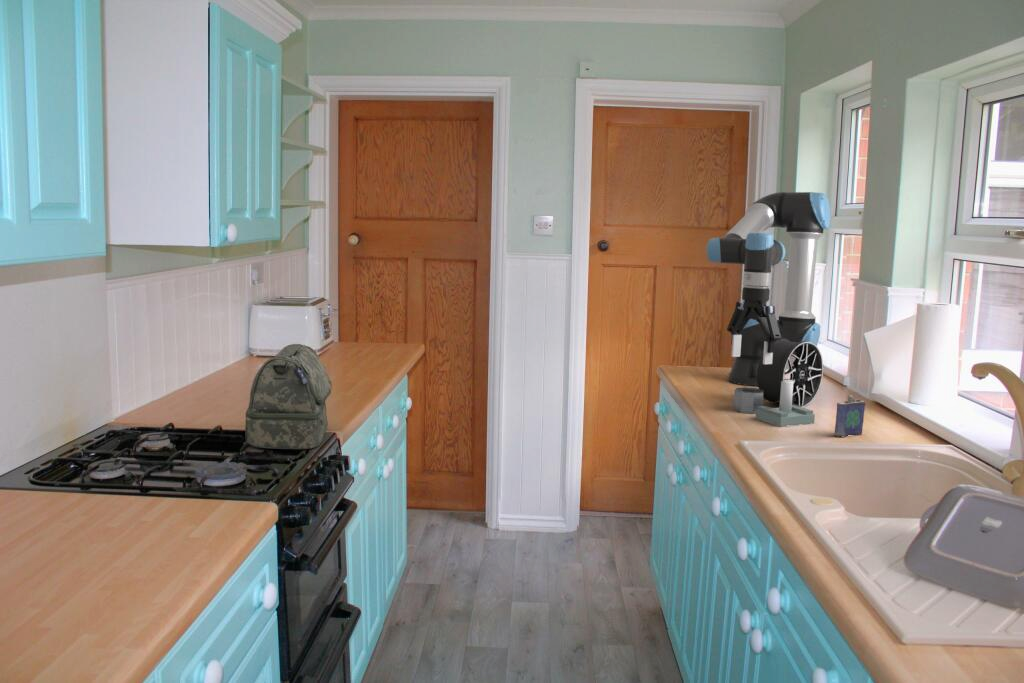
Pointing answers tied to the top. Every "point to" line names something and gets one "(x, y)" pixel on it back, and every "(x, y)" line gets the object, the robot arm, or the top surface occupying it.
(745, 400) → the block
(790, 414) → the shaft block
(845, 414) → the flask
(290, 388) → the lunch bag
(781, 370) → the wheel rim
